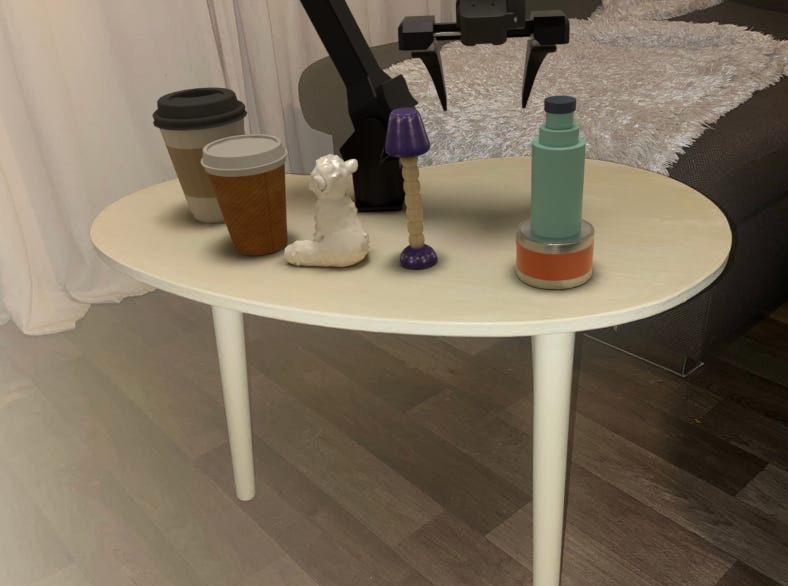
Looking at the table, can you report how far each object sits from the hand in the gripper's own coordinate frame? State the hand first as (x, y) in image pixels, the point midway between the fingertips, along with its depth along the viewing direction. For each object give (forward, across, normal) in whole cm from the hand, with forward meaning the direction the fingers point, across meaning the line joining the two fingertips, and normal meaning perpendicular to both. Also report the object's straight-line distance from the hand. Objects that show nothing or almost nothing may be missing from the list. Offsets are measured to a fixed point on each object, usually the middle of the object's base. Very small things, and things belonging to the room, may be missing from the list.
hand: (484, 109), depth 89 cm
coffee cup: (+13, -35, +3) cm, 37 cm away
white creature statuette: (+13, -17, -12) cm, 25 cm away
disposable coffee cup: (+13, -27, -8) cm, 31 cm away
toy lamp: (+13, -8, -14) cm, 21 cm away
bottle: (+8, +7, -18) cm, 20 cm away
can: (+13, +7, -18) cm, 23 cm away
